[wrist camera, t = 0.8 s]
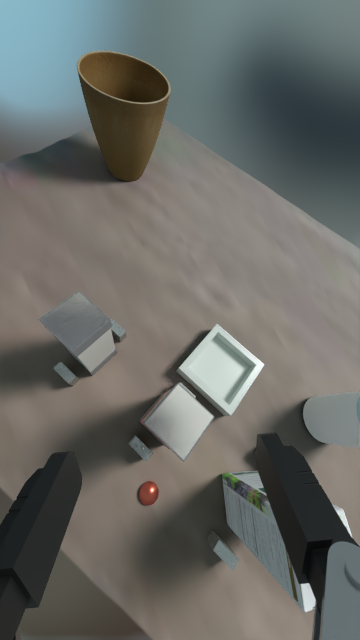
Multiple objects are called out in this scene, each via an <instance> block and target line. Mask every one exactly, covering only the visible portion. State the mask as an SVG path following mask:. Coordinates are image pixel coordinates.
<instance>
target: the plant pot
mask: <svg viewBox="0 0 360 640" xmlns="http://www.w3.org/2000/svg"><path fill="white" fill-rule="evenodd" d="M77 70H78V74H79V78H80V83H81V87H82V91H83V95H84V99H85V103H86V107H87V110H88V114H89V117H90V120H91V124H92V127H93V130H94V133H95V136H96V139H97V141H98V144H99V147H100V149H101V152H102V155H103V157H104V159H105V162H106V164H107V166H108V168H109V170H110V172H111V174H112V175H113V176H115V177H116V178H118V179H120V180H123V181H135V180H137V179H139V178H140V177H141V176H142V174H143V172H144V170H145V168H146V165H147V163H148V161H149V159H150V156H151V154H152V151H153V149H154V146H155V143H156V141H157V138H158V135H159V131H160V128H161V125H162V121H163V118H164V114H165V110H166V106H167V102H168V98H169V94H170V84H169V82H168V80H167V79H166V77H165V76H164V75H163V74H162V73H161V72H160V71H159V70H157V69H156V68H155V67H153V66H152V65H150V64H148V63H146V62H144V61H142V60H140V59H138V58H135V57H132V56H130V55H126V54H123V53H118V52H112V51H93V52H89V53H87V54H85V55H83V56H82V57H81V58H80V59H79V60H78V62H77Z"/></svg>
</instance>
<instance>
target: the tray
mask: <svg viewBox="0 0 360 640" xmlns="http://www.w3.org/2000/svg"><path fill="white" fill-rule="evenodd" d="M263 366H264V364H263V363H262V362H261V361H260V360H258V359H257V358H256V357H255V356H254V355H253V354H251V353H250V352H249V351H248V350H247V349H246V348H244V347H243V346H242V345H241V344H240V343H239V342H238V341H236V340H235V339H234V338H233V337H232V336H231V335H229V334H228V333H227V332H226V331H225V330H224V329H222V328H221V327H220V326H219V325H218V324H217V325H216V326H215V327H214V328H213V329H212V330H211V331H210V332H209V333H208V335H207V336H206V337H205V338H204V339H203V340H202V341H201V343H200V344H199V345H198V346H197V347H196V348H195V349H194V351H193V352H192V353H191V354H190V355H189V356H188V358H187V359H186V360H185V361H184V362H183V363H182V364H181V366H180V367H179V368H178V369H177V370H176V372H177V373H178V374H179V375H181V376H182V377H183V378H184V379H185V380H186V381H187V382H188V383H189V384H190V385H191V386H192V387H194V388H195V389H196V390H197V391H198V392H199V393H200V394H201V395H202V396H203V397H204V398H206V399H207V400H208V401H209V402H210V403H211V404H212V405H213V406H214V407H215V408H216V409H217V410H219V411H220V412H221V413H222V414H223V415H224V416H231V415H232V414H233V412H234V410H235V409H236V407H237V406H238V404H239V403H240V401H241V400H242V398H243V397H244V395H245V394H246V392H247V391H248V389H249V387H250V386H251V384H252V383H253V381H254V380H255V378H256V377H257V375H258V374H259V372H260V371H261V369H262V367H263Z"/></svg>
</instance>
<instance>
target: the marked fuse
mask: <svg viewBox="0 0 360 640" xmlns="http://www.w3.org/2000/svg"><path fill="white" fill-rule="evenodd" d="M214 417H215V416H214V415H213V414H211V413H210V412H209V411H208V410H207V409H206V408H205V407H204V406H203V405H202V404H201V403H200V402H198V401H197V400H196V399H195V398H194V397H193V396H192V395H191V394H190V393H189V392H188V391H187V390H186V389H184V388H183V387H182V386H181V385H180V384H179V383H177V384H176V385H174V386H173V388H172V389H170V390H169V391H166V392H165V393H164V394H161V395H160V397H159V398H158V399H157V400H156V401H155V402H154V404H153V405H152V406H151V407H150V408H149V409H148V411H147V412H146V413H145V414H144V415H143V416H142V418H141V419H140V420H139V422H140V423H141V424H142V425H143V426H144V427H145V428H147V429H148V430H149V431H150V432H151V433H152V434H153V435H154V436H155V437H156V438H157V439H158V440H159V441H160V442H161V443H162V444H163V445H164V446H165V447H167V448H168V449H170V450H172V451H173V452H174V453H175V454H176V455H177V456H178V457H179V458H180V459H181V460H182V461H183V462H184V461H185V460H186V458H187V457H188V455H189V454H190V452H191V451H192V449H193V448H194V446H195V445H196V444H197V442H198V441H199V439H200V438H201V436H202V435H203V433H204V432H205V430H206V429H207V428H208V426H209V425H210V423H211V422H212V420H213V419H214Z"/></svg>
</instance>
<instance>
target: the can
mask: <svg viewBox="0 0 360 640" xmlns="http://www.w3.org/2000/svg"><path fill="white" fill-rule="evenodd" d="M303 418H304V422H305V425H306V427H307V429H308V431H309V432H310V434H311V435H312V436H313V437H314V438H315V439H317V440H318V441H320V442H322V443H327V444H334V445H342V446H349V447H357V448H360V391H359V392H350V393H341V394H332V395H323V396H314V397H311V398H310V399H308V400H307V402H306V403H305V405H304V409H303Z"/></svg>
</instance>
